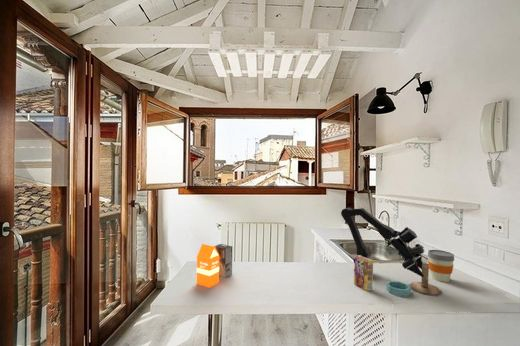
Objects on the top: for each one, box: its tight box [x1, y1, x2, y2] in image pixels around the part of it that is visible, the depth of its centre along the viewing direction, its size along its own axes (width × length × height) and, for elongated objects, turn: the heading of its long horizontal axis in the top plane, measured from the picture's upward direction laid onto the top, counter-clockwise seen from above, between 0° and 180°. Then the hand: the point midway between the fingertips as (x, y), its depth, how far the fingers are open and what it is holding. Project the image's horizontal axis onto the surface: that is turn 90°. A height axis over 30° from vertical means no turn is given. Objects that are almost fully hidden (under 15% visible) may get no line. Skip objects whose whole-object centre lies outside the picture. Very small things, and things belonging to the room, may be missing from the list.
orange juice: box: [196, 243, 220, 288], centre depth 142 cm, size 8×9×20 cm
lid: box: [409, 262, 441, 296], centre depth 139 cm, size 13×13×13 cm
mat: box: [407, 283, 443, 297], centre depth 139 cm, size 15×15×1 cm
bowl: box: [386, 280, 412, 298], centre depth 136 cm, size 10×10×4 cm
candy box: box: [353, 255, 374, 291], centre depth 141 cm, size 9×4×15 cm, turn 26°
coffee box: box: [213, 243, 233, 278], centre depth 154 cm, size 9×6×16 cm
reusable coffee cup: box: [427, 249, 455, 283], centre depth 153 cm, size 12×12×15 cm
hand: (424, 273), depth 139 cm, fingers open, 9 cm apart
